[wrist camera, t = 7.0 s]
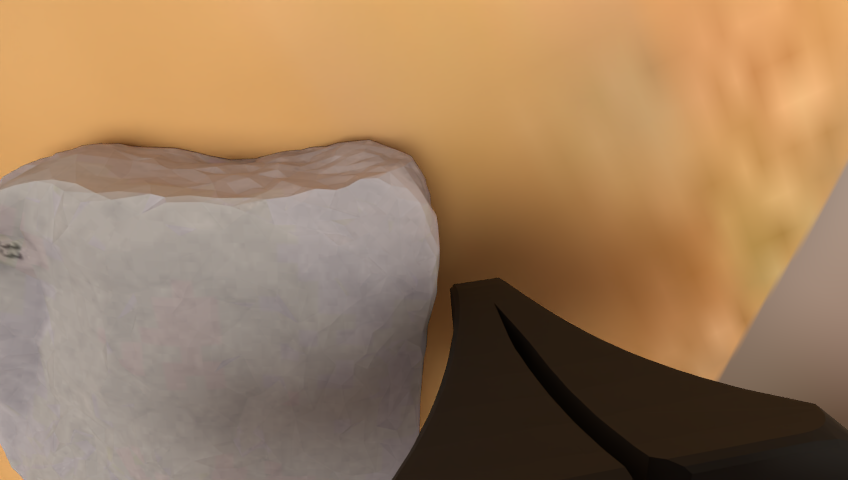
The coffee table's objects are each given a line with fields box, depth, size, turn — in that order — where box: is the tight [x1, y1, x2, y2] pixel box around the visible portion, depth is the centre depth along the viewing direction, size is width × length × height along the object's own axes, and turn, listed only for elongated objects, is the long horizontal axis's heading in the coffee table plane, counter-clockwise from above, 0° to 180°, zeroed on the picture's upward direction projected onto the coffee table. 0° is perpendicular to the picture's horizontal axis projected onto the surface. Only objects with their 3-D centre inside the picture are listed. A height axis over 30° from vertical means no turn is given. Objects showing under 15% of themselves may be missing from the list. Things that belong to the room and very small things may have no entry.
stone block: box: [0, 140, 440, 480], centre depth 12 cm, size 12×5×10 cm
